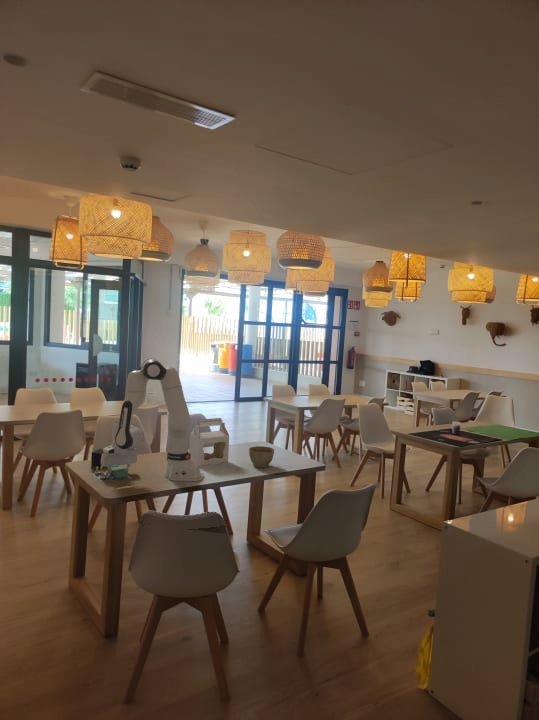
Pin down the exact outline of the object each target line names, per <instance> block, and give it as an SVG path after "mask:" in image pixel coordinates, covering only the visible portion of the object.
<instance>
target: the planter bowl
mask: <svg viewBox="0 0 539 720" xmlns="http://www.w3.org/2000/svg"><path fill="white" fill-rule="evenodd" d="M274 454H275V449H274V448H273V447H270V446H260V445H259V446H258V445H257V446H251V447H249V448H248V455H249V458H250V460H251V462H252V465H253V467H256V468H261V469H263V468H268V467H269V466H270V464H271V462H272V461H273V457H274Z"/></svg>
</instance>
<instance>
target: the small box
mask: <svg viewBox="0 0 539 720" xmlns="http://www.w3.org/2000/svg"><path fill="white" fill-rule="evenodd" d="M103 453H104V452H103V448H99V449H96V450H94V451H92V452H91V461H90V463H91V464H90V465H91V466H90V468H91V469H95V470H96V467H97V466H98V470H101V466H102V465H101V456H102V454H103ZM104 468H105V467H103V466H102V469H104Z"/></svg>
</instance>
